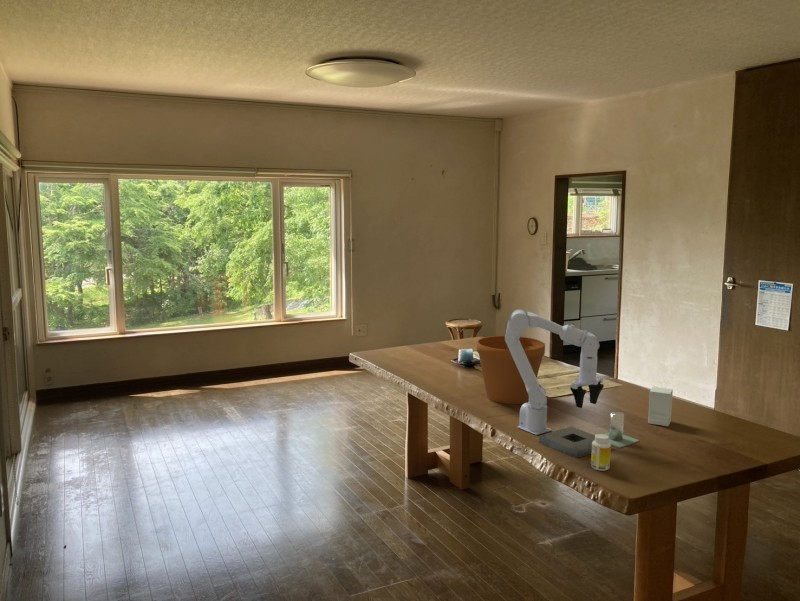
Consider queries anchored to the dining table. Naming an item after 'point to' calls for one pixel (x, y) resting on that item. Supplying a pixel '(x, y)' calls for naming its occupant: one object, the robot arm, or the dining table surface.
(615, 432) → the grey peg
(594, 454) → the supplement bottle
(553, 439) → the socket block
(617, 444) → the mat
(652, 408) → the supplement box
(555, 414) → the dining table surface
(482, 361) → the flowerpot
